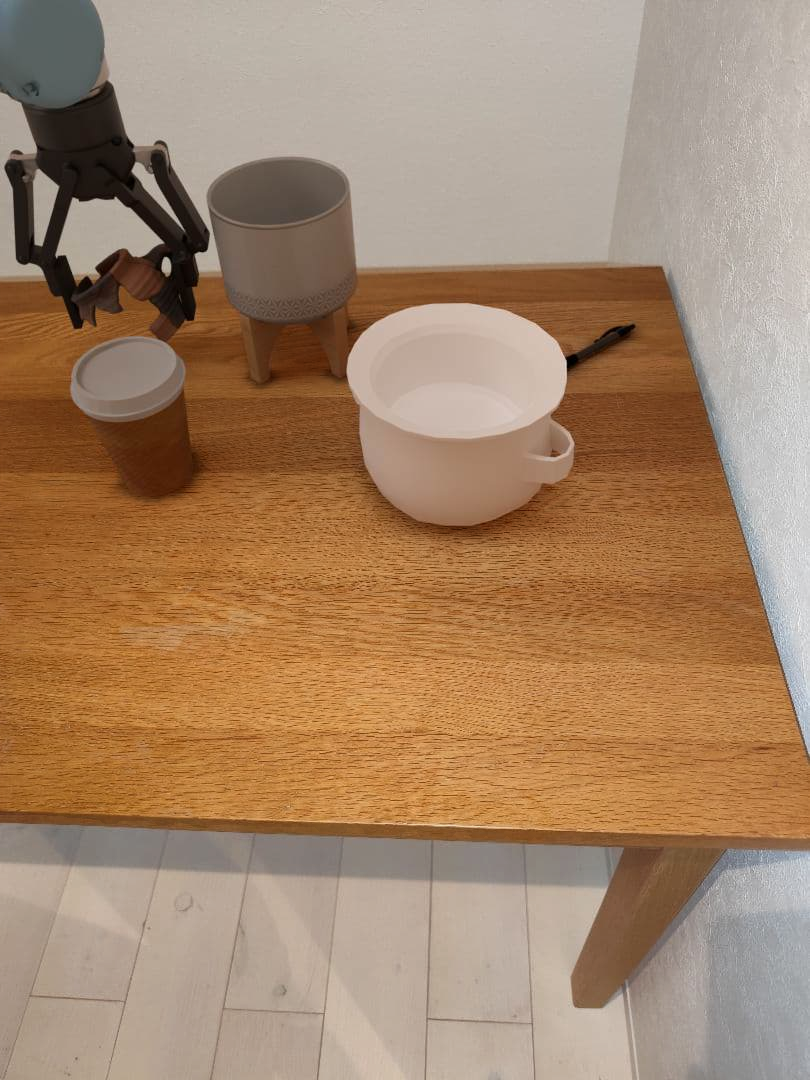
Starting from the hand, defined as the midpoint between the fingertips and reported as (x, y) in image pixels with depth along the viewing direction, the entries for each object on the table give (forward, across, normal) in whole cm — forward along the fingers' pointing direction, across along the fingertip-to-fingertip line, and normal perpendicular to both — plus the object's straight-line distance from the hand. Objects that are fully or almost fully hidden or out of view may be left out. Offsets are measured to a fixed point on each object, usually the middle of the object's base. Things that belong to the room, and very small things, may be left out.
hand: (135, 317), depth 89 cm
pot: (+6, +30, -20) cm, 36 cm away
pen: (+6, +45, -4) cm, 46 cm away
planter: (+6, +16, 0) cm, 17 cm away
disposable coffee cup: (+6, +3, -17) cm, 18 cm away
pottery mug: (0, +1, 0) cm, 1 cm away
